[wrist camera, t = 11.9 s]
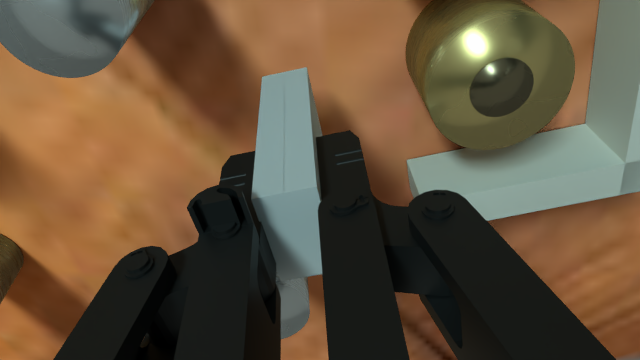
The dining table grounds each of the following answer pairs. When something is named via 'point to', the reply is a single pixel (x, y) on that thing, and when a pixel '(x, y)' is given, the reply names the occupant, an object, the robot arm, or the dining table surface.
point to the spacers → (82, 60)
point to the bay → (559, 140)
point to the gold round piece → (489, 70)
